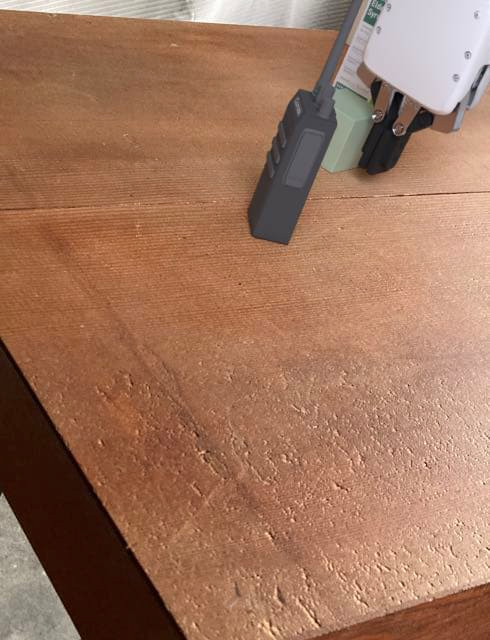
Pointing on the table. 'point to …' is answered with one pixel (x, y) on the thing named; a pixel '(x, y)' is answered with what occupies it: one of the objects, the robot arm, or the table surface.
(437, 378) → the table surface
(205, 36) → the table surface
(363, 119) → the sage block
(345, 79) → the syrup box
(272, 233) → the walkie-talkie
